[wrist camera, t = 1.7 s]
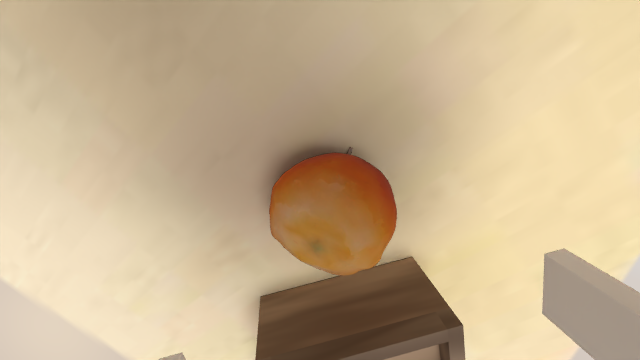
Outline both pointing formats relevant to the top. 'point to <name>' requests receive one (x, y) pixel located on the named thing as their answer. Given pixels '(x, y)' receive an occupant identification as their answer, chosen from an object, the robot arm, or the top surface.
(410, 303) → the open wooden box
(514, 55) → the top surface
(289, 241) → the fruit
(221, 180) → the top surface
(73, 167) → the top surface
